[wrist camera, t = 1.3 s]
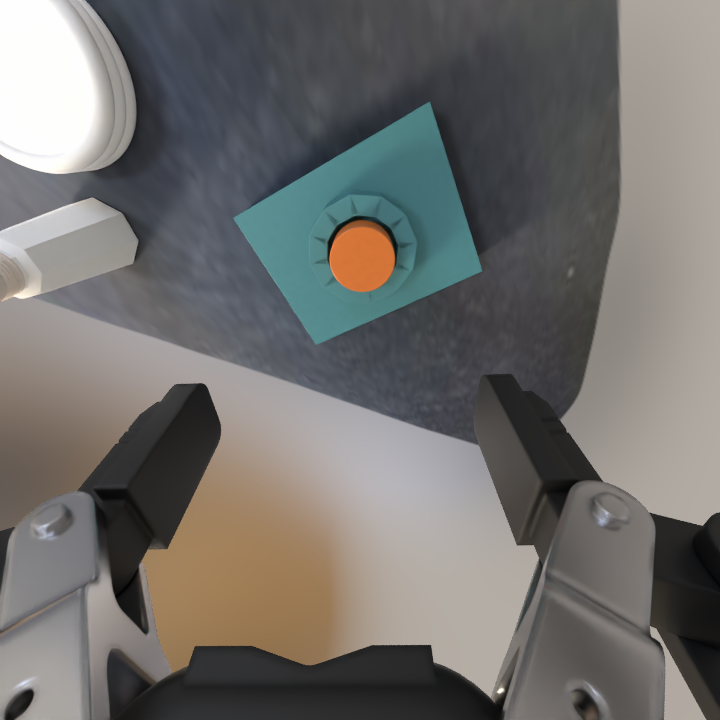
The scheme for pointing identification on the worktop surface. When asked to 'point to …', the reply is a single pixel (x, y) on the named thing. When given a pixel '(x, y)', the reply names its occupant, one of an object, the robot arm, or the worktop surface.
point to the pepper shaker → (64, 248)
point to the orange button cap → (362, 256)
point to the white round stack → (62, 87)
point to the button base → (373, 203)
